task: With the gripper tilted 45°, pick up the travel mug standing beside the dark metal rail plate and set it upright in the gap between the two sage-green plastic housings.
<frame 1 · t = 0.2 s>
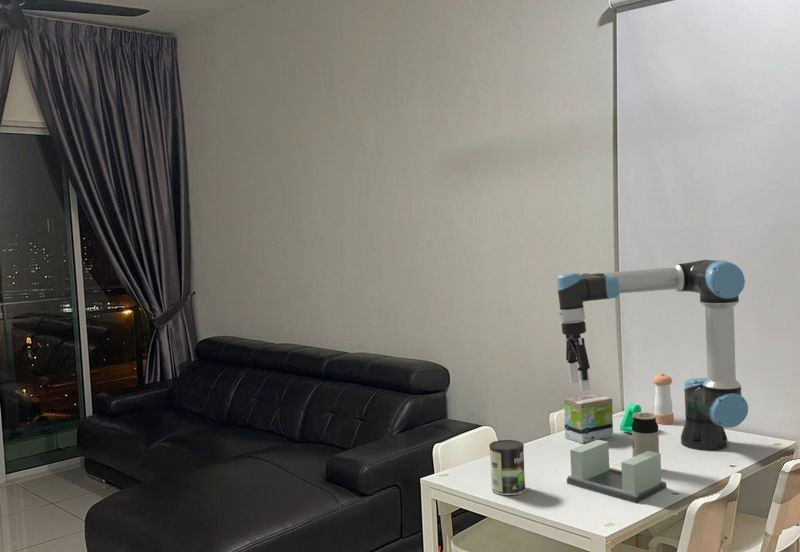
hand: (579, 386, 238), 27 cm above the table, tool pointing down, fingers open, 13 cm apart
camera mount: (639, 432, 276), on the table
tea box: (589, 438, 272), on the table
travel mug: (646, 471, 233), on the table
pepper shaker: (663, 422, 287), on the table
rail plate: (615, 485, 222), on the table
housings: (615, 466, 221), point 6 cm above the table
coffee can: (508, 490, 223), on the table
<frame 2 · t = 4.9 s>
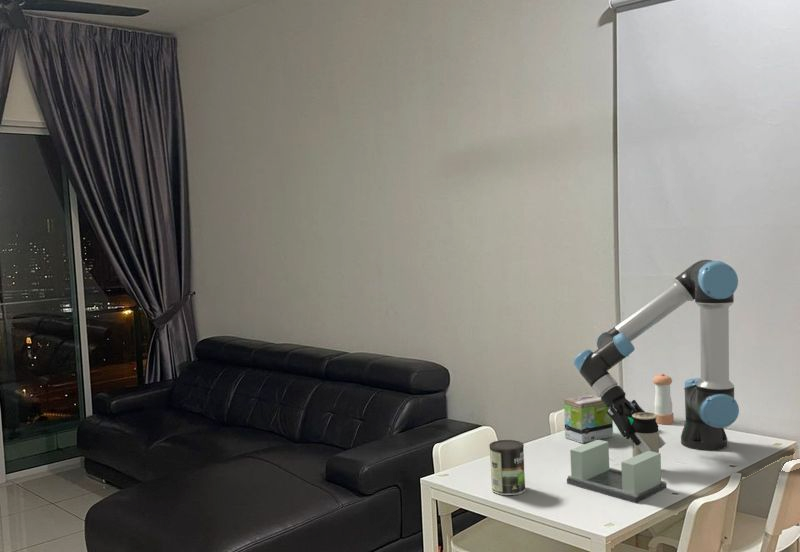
hand: (655, 449, 230), 8 cm above the table, tool tilted 45°, fingers closed on travel mug, 8 cm apart
travel mug: (646, 471, 233), on the table, touching gripper
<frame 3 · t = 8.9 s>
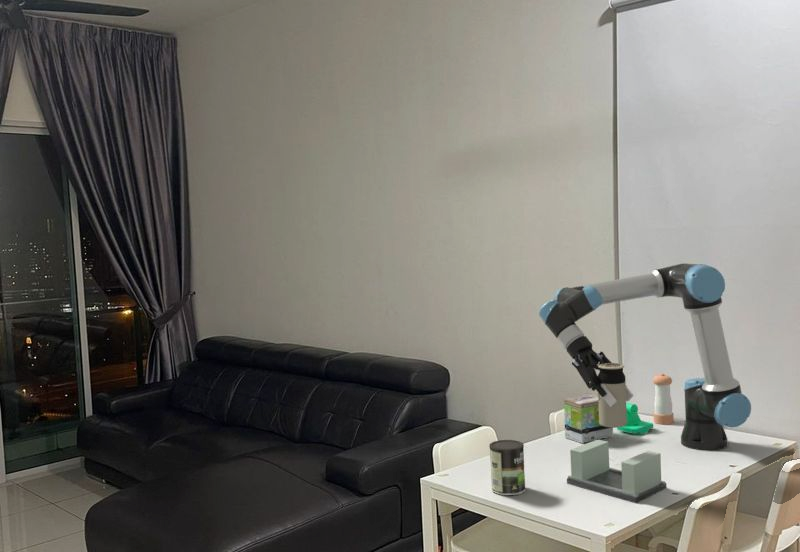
hand: (622, 401, 218), 26 cm above the table, tool tilted 45°, fingers closed on travel mug, 8 cm apart
travel mug: (613, 425, 221), point 19 cm above the table, touching gripper
when the fingers open (11 cm above the table, at t = 12.6 s): travel mug drops 1 cm, resting on rail plate.
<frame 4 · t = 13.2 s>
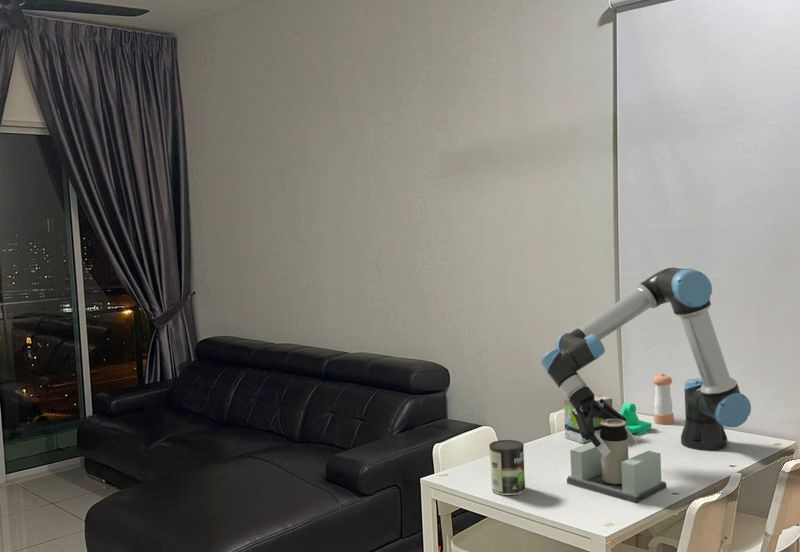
hand: (621, 449, 219), 12 cm above the table, tool tilted 45°, fingers open, 13 cm apart
travel mug: (615, 481, 222), point 1 cm above the table, touching rail plate
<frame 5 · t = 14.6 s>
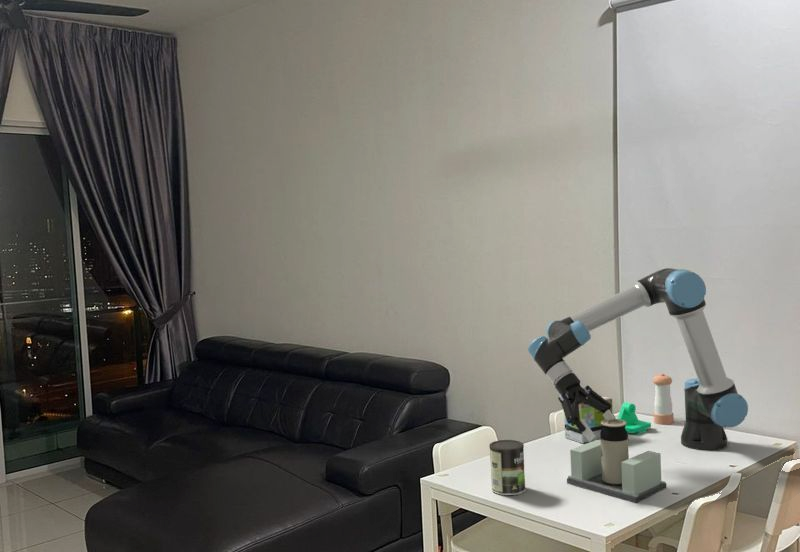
hand: (606, 434, 222), 15 cm above the table, tool tilted 45°, fingers open, 13 cm apart
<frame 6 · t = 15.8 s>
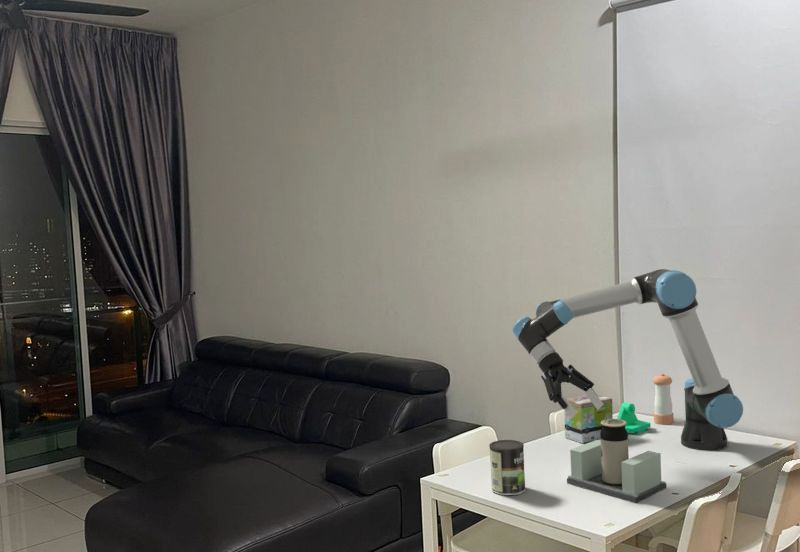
hand: (587, 411, 228), 21 cm above the table, tool tilted 45°, fingers open, 13 cm apart
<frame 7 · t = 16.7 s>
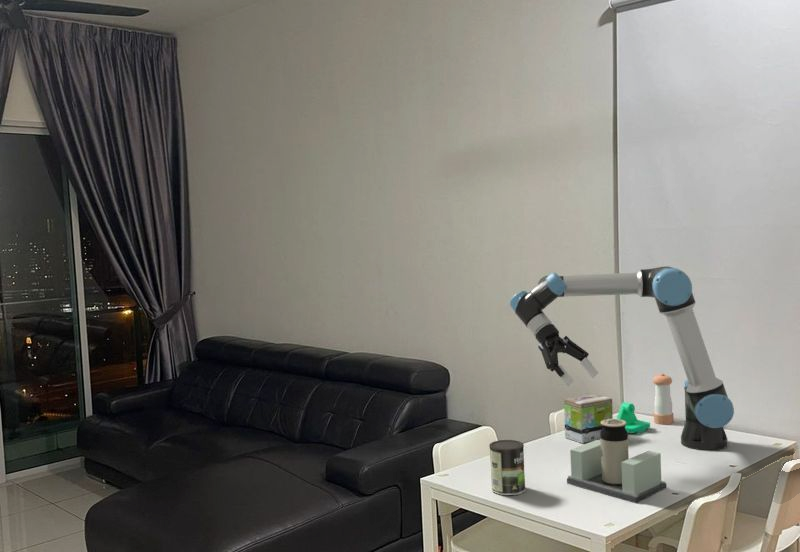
hand: (583, 379, 237), 29 cm above the table, tool tilted 45°, fingers open, 13 cm apart
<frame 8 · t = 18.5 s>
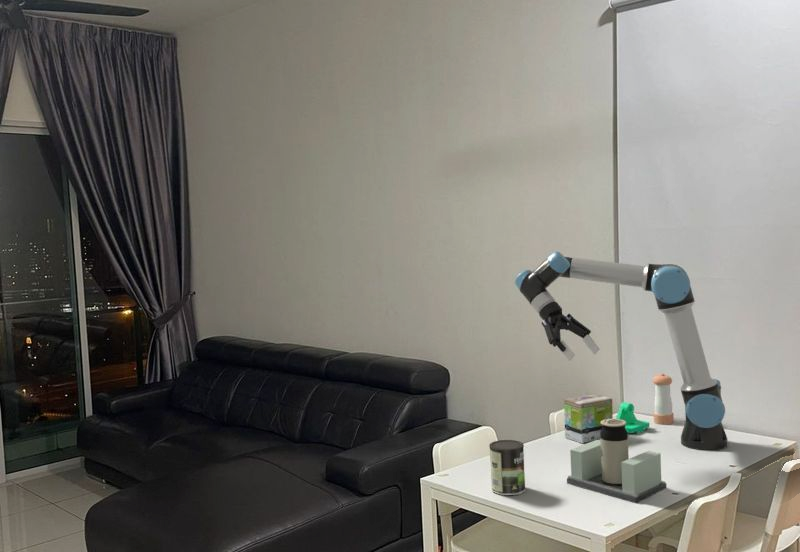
hand: (584, 354, 245), 36 cm above the table, tool tilted 45°, fingers open, 13 cm apart
at the end: travel mug 0.2 cm off-centre on the rail plate, point 1.3 cm above the rail plate's base; travel mug tilted 0°; the gripper is holding nothing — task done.
